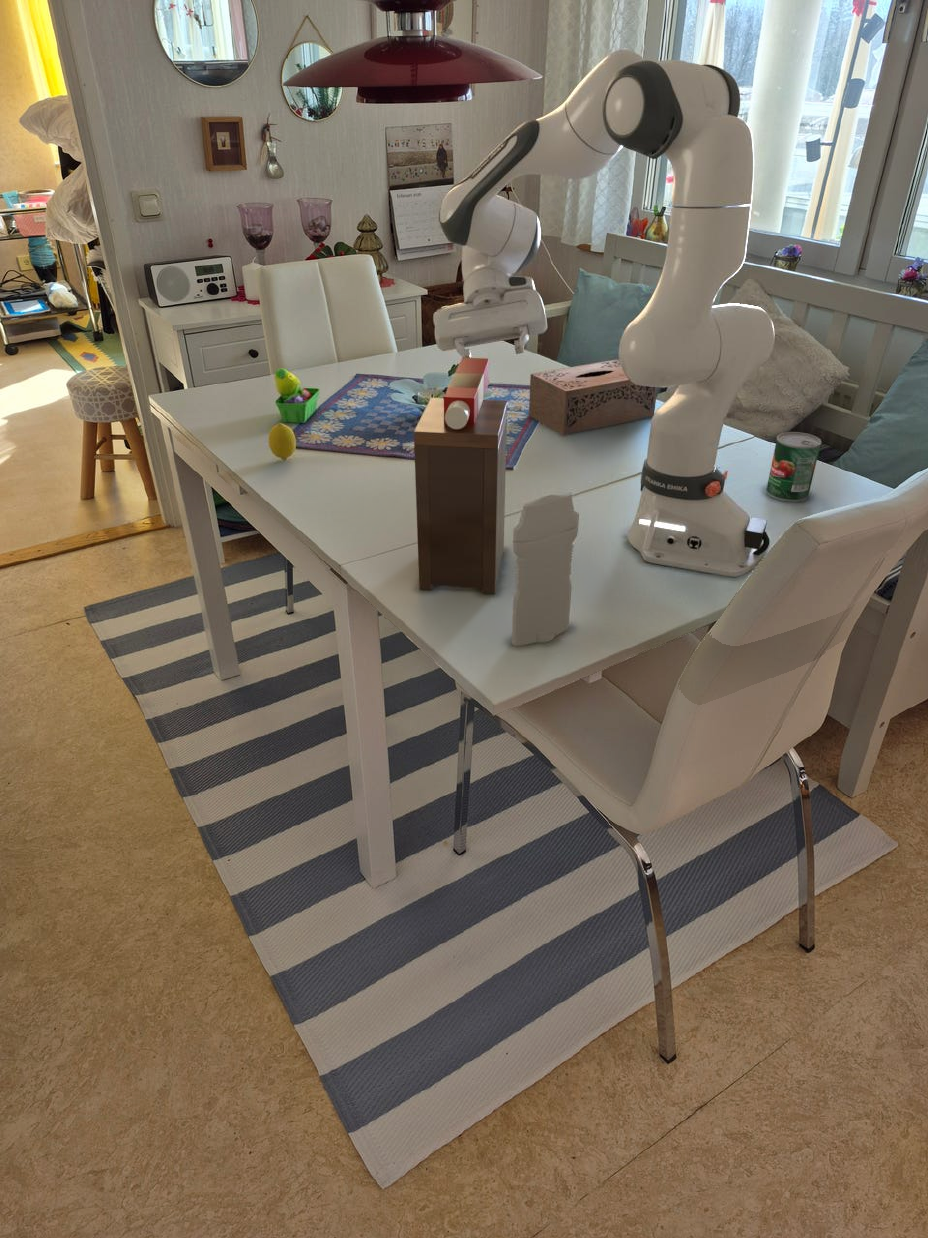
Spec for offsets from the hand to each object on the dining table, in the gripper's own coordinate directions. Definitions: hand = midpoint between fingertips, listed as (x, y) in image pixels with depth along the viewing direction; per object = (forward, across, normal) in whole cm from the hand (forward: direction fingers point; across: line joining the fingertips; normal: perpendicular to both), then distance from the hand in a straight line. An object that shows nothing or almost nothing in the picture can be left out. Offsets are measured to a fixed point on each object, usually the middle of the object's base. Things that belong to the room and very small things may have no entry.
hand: (493, 355), depth 151 cm
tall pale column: (+56, +3, -1) cm, 56 cm away
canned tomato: (+16, +51, +33) cm, 63 cm away
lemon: (-4, -48, +24) cm, 54 cm away
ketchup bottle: (+21, -4, -13) cm, 25 cm away
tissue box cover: (-23, +17, +50) cm, 58 cm away
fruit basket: (-27, -51, +37) cm, 69 cm away
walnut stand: (+38, -9, +6) cm, 40 cm away
